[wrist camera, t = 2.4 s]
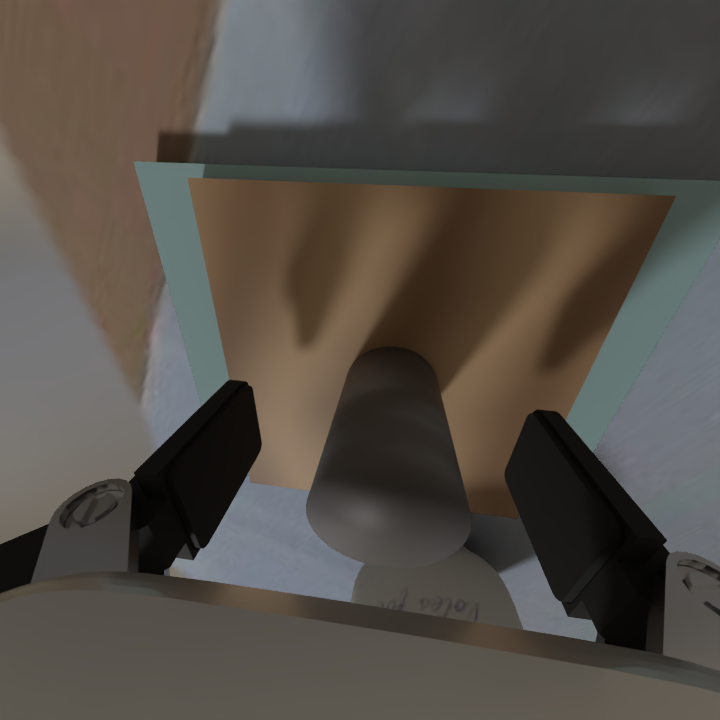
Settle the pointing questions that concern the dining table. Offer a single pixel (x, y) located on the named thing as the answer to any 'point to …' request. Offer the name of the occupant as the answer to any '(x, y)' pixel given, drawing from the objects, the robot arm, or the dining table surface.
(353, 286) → the lid
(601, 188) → the mat
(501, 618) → the teacup
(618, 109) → the dining table surface
